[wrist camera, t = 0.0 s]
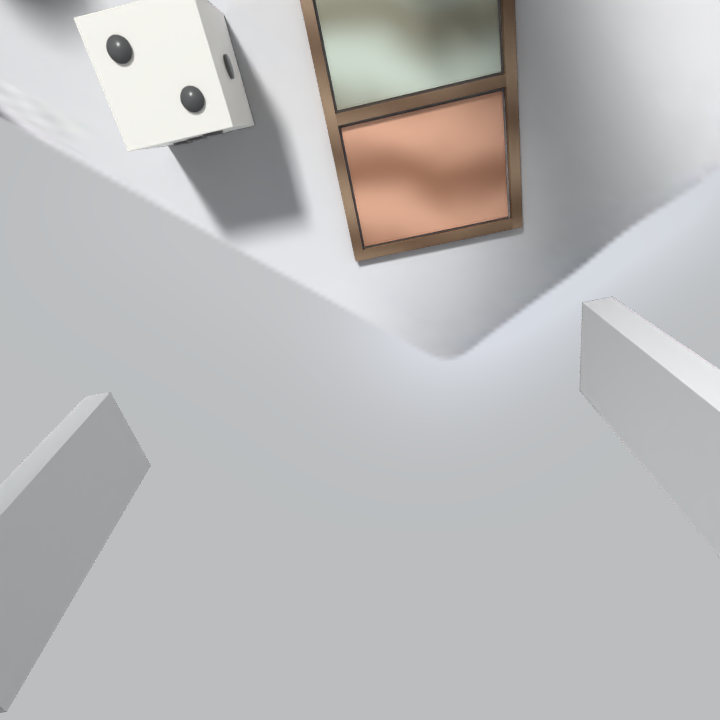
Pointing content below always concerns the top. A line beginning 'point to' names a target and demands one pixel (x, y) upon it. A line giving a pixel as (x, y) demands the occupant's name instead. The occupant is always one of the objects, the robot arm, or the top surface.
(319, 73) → the wooden picture frame
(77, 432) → the robot arm
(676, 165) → the top surface
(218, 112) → the die
